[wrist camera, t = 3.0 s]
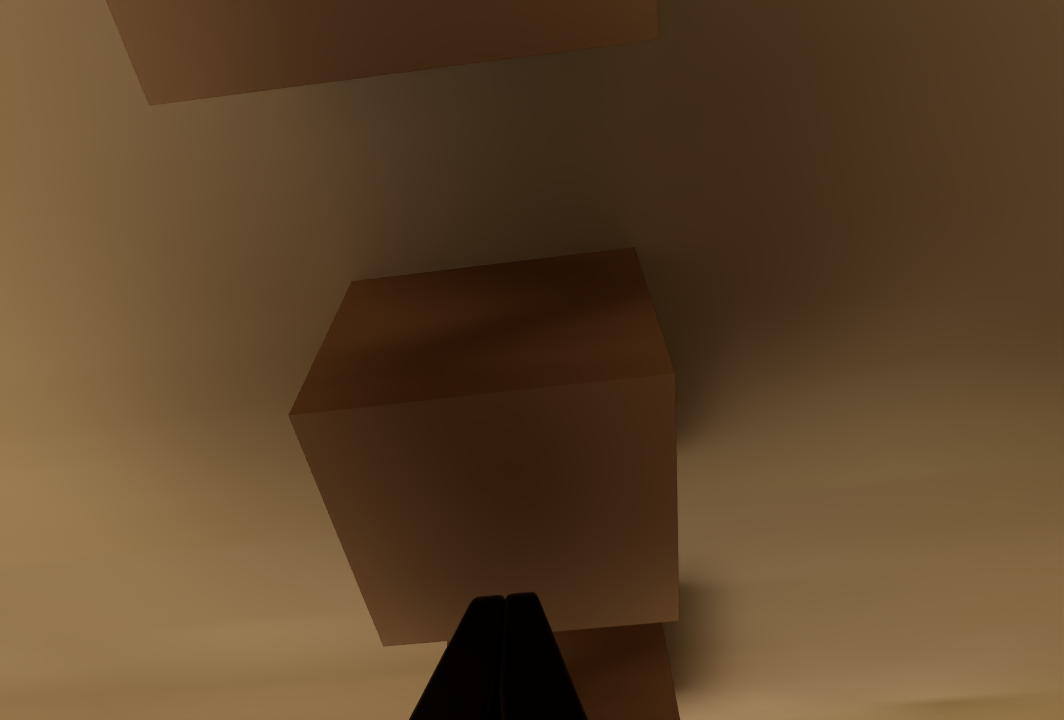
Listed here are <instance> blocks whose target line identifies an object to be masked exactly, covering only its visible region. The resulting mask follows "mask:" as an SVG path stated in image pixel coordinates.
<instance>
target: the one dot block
mask: <svg viewBox="0 0 1064 720" xmlns="http://www.w3.org/2000/svg"><path fill="white" fill-rule="evenodd" d="M553 634H554V636H555V639H556V641H557V644H558V646H559V648H560V651H561V653H562V656H563V658H564V661H565V663H566V666H567V668H568V670H569V673H570V675H571V678H572V680H573V683H574V685H575V688H576V690H577V692H578V695H579V697H580V700H581V702H582V705H583V707H584V710H585V712H586V714H587V717H588V719H589V720H680V717H679V712H678V706H677V701H676V696H675V691H674V686H673V680H672V675H671V670H670V665H669V660H668V655H667V649H666V644H665V639H664V634H663V629H662V623H661V622H659V623H648V624H636V625H625V626H613V627H602V628H590V629H579V630H567V631H556V632H553ZM449 642H450V641H448V642H447V646H448V644H449Z"/></svg>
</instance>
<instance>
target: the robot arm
mask: <svg viewBox="0 0 1064 720" xmlns="http://www.w3.org/2000/svg"><path fill="white" fill-rule="evenodd" d="M409 720H589V719H588V717H587V714H586V712H585V710H584V707H583V705H582V702H581V700H580V697H579V695H578V692H577V690H576V688H575V685H574V683H573V680H572V678H571V675H570V673H569V670H568V668H567V666H566V663H565V661H564V658H563V656H562V653H561V651H560V648H559V646H558V644H557V641H556V639H555V636H554V634H553V631H552V629H551V626H550V624H549V622H548V619H547V617H546V614H545V612H544V609H543V607H542V604H541V602H540V600H539V597H538V595H537V594H536V593H534V592H524V593H513V594H509V595H507V596H506V598H504V596H502V595H491V596H481V597H476V598H474V599H473V600H472V601H471V602H470V604H469V606H468V608H467V610H466V612H465V613H464V615H463V617H462V619H461V621H460V623H459V625H458V627H457V629H456V631H455V633H454V634H453V636H452V638H451V640H450V642H449V644H448V646H447V648H446V650H445V652H444V654H443V656H442V657H441V659H440V661H439V663H438V665H437V667H436V669H435V671H434V673H433V675H432V677H431V678H430V680H429V682H428V684H427V686H426V688H425V690H424V692H423V694H422V696H421V698H420V700H419V701H418V703H417V705H416V707H415V709H414V711H413V713H412V715H411V717H410V719H409Z"/></svg>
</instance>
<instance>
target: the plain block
mask: <svg viewBox="0 0 1064 720" xmlns="http://www.w3.org/2000/svg"><path fill="white" fill-rule="evenodd" d="M289 418H290V421H291V423H292V425H293V428H294V430H295V433H296V435H297V438H298V440H299V442H300V445H301V447H302V450H303V452H304V455H305V457H306V459H307V462H308V464H309V467H310V469H311V472H312V474H313V476H314V479H315V481H316V484H317V486H318V489H319V491H320V493H321V496H322V498H323V501H324V503H325V506H326V508H327V511H328V513H329V515H330V518H331V520H332V523H333V525H334V528H335V530H336V532H337V535H338V537H339V540H340V542H341V545H342V547H343V549H344V552H345V554H346V557H347V559H348V562H349V564H350V566H351V569H352V571H353V574H354V576H355V579H356V581H357V583H358V586H359V588H360V591H361V593H362V596H363V598H364V600H365V603H366V605H367V608H368V610H369V613H370V615H371V617H372V620H373V622H374V625H375V627H376V630H377V632H378V634H379V637H380V639H381V642H382V644H383V646H394V645H406V644H417V643H429V642H440V641H450V640H451V638H452V636H453V634H454V633H455V631H456V629H457V627H458V625H459V623H460V621H461V619H462V617H463V615H464V613H465V612H466V610H467V608H468V606H469V604H470V602H471V601H472V600H473V599H474V598H476V597H481V596H491V595H502V596H504V598H506V596H507V595H509V594H513V593H524V592H534V593H536V594H537V595H538V597H539V600H540V602H541V604H542V607H543V609H544V612H545V614H546V617H547V619H548V622H549V624H550V626H551V629H552V631H553V632H556V631H567V630H579V629H590V628H602V627H613V626H625V625H636V624H648V623H659V622H671V621H679V580H678V517H677V454H676V391H675V371H674V368H673V365H672V362H671V359H670V356H669V353H668V350H667V347H666V344H665V341H664V337H663V334H662V331H661V328H660V325H659V322H658V319H657V316H656V313H655V310H654V307H653V304H652V301H651V298H650V295H649V292H648V289H647V286H646V283H645V280H644V276H643V273H642V270H641V267H640V264H639V261H638V258H637V255H636V252H635V249H634V247H633V248H625V249H617V250H608V251H600V252H592V253H584V254H575V255H567V256H559V257H551V258H542V259H534V260H526V261H518V262H509V263H501V264H493V265H485V266H477V267H468V268H460V269H452V270H444V271H435V272H427V273H419V274H411V275H402V276H394V277H386V278H378V279H369V280H361V281H353V282H351V285H350V287H349V289H348V291H347V293H346V295H345V297H344V299H343V301H342V304H341V306H340V308H339V310H338V312H337V314H336V316H335V318H334V321H333V323H332V325H331V327H330V329H329V331H328V333H327V335H326V337H325V340H324V342H323V344H322V346H321V348H320V350H319V352H318V354H317V356H316V359H315V361H314V363H313V365H312V367H311V369H310V371H309V373H308V375H307V378H306V380H305V382H304V384H303V386H302V388H301V390H300V392H299V394H298V397H297V399H296V401H295V403H294V405H293V407H292V409H291V411H290V413H289Z"/></svg>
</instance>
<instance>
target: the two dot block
mask: <svg viewBox="0 0 1064 720" xmlns="http://www.w3.org/2000/svg"><path fill="white" fill-rule="evenodd" d="M106 2H107V4H108V6H109V9H110V11H111V14H112V16H113V18H114V21H115V23H116V26H117V28H118V31H119V33H120V35H121V38H122V40H123V43H124V45H125V48H126V50H127V52H128V55H129V57H130V60H131V62H132V65H133V67H134V69H135V72H136V74H137V77H138V79H139V82H140V84H141V86H142V89H143V91H144V94H145V96H146V98H147V101H148V103H149V105H157V104H164V103H172V102H180V101H187V100H195V99H203V98H211V97H218V96H226V95H234V94H241V93H249V92H257V91H264V90H272V89H280V88H287V87H295V86H303V85H311V84H318V83H326V82H334V81H341V80H349V79H357V78H364V77H372V76H380V75H387V74H395V73H403V72H411V71H418V70H426V69H434V68H441V67H449V66H457V65H464V64H472V63H480V62H487V61H495V60H503V59H511V58H518V57H526V56H534V55H541V54H549V53H557V52H564V51H572V50H580V49H587V48H595V47H603V46H611V45H618V44H626V43H634V42H641V41H649V40H657V39H659V30H658V0H106Z"/></svg>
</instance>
